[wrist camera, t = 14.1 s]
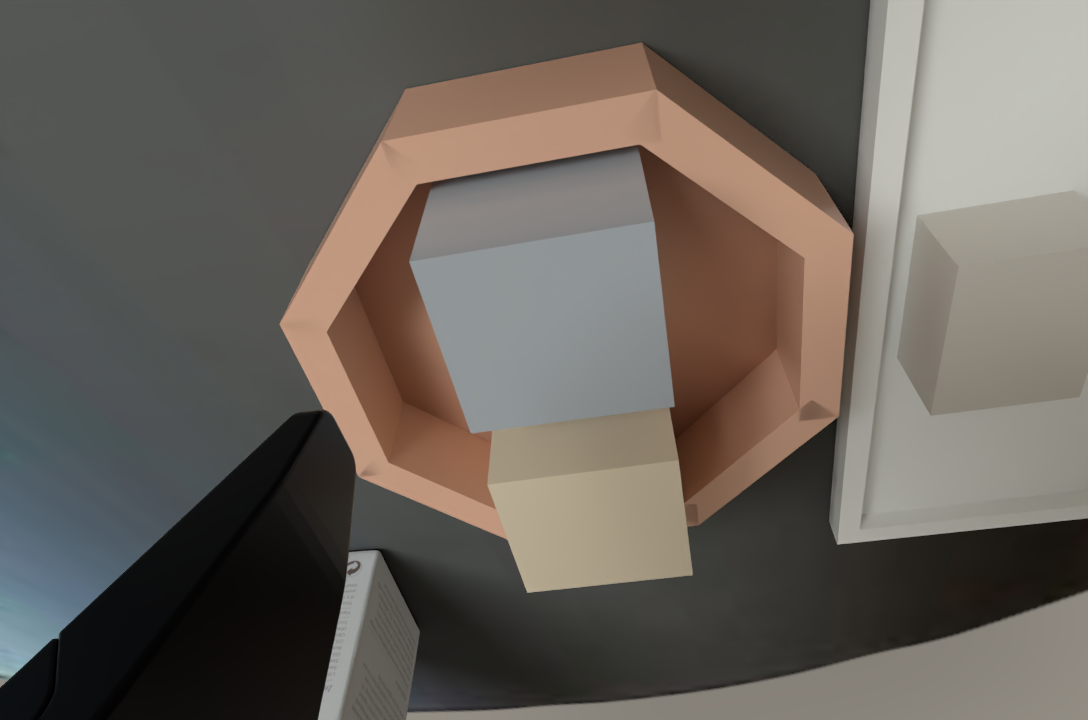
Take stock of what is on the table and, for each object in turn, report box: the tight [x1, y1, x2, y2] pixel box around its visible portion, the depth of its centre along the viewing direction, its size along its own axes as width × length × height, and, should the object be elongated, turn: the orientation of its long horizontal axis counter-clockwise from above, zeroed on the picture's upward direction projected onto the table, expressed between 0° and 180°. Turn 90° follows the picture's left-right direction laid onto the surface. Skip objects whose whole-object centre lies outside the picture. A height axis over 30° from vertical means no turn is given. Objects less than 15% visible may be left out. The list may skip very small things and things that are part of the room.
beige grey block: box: [897, 190, 1088, 416], centre depth 18 cm, size 4×5×2 cm
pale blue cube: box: [409, 145, 675, 433], centre depth 16 cm, size 4×4×5 cm
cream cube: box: [487, 407, 693, 593], centre depth 20 cm, size 4×4×5 cm
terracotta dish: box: [280, 42, 854, 540], centre depth 19 cm, size 13×13×3 cm
